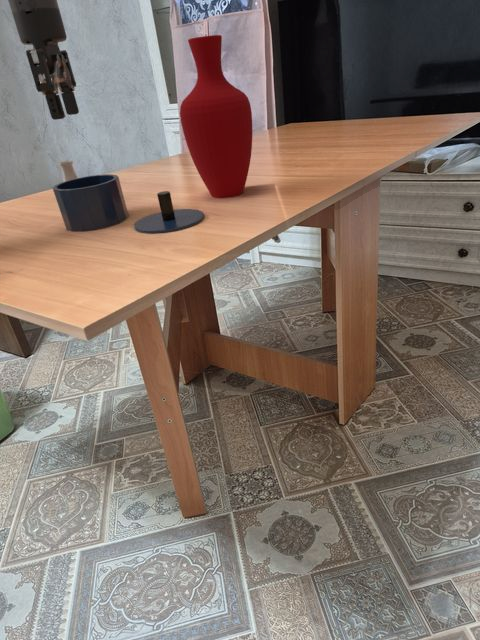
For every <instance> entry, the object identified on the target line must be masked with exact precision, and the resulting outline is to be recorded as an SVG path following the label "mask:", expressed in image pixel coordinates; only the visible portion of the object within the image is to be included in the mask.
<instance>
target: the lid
mask: <svg viewBox="0 0 480 640" xmlns="http://www.w3.org/2000/svg"><path fill="white" fill-rule="evenodd" d="M156 195H157V200H158V204H159V208H160V211H158V212H155V213H152V214H148V215H146V216H144V217H141V218H139V219H138V220H136V221H135V222H134V224H133V228H134V230H135V231H136V232H138V233H142V234H164V233H165V234H166V233H172V232H176V231H180V230H181V231H182V230H185V229H188V228H191V227H193V226H195V225H198V224H200V223H202V222H203V220H205V214H204V212H203V211H202V210H199V209H194V208H177V209H174V206H173V200H172V196H171V192H170V190H164V191H160V192H157V193H156Z"/></svg>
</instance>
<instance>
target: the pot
mask: <svg viewBox="0 0 480 640" xmlns="http://www.w3.org/2000/svg"><path fill="white" fill-rule="evenodd" d="M52 191H53V194H54V196H55V200H56V202H57V206H58V209H59V212H60V215H61V217H62V220H63V223H64V226H65V229H66V231H68V232H69V231H70V232H73V233H74V232H75V233H77V232H78V233H79V232H80V233H83V232H92V231H98V230H102V229H107V228H110V227H114V226H116V225H119V224H121V223H123V222H125V221H127V220H128V218H129V212H128V209H127V204H126V200H125V197H124V192H123V189H122V186H121V181H120V178H119V176H118V175H117V174H111V173H109V174H105V173H104V174H94V175H87V176H82V177H78V178H76V179H72V180H68V181H65V182H64V181H63V182H62V181H61V182H60V183H57V184H54V186H52Z"/></svg>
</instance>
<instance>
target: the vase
mask: <svg viewBox="0 0 480 640" xmlns="http://www.w3.org/2000/svg"><path fill="white" fill-rule="evenodd" d="M222 41H223V36H222V35H220V34H212V35H203V36H197V37H192V38H189V39H188V40H187V43H188V45H189V49H190V51H191V54H192V57H193V61H194V63H195V68H196V74H197V76H196V77H197V78H196V82H195V85H194V86H193V88H192V90H191V91H190V93H188V94H187V96H185V98H183V100H182V101H181V104H180V107H179V118H180V124H181V128H182V133H183V136H184V139H185V143H186V146H187V149H188V151H189V154H190V157H191V159H192V162H193V164H194V166H195V169H196V170H197V172H198V175H199V176H200V178H201V180H202V182H203V184H204V185H205V187H206V189H207V190H208V192H209V194H210V196H211V197H212V198H214V199H228V198H229V199H230V198H235V197H238V196H241V195H242V194H243V193H244V192H245V188H246V183H247V181H248V179H247V178H248V175H249V170H250V166H251V165H250V164H251V159H252V151H253V113H252V106H251V103H250V100H249V97H248V96H247V95H246V93H245V92H244V91H242V90H241V89H238V87H235V86H234V85H233V84H231V83H230V82H229V80H228V79H227V78H226V77H225V75H224V72H223V67H222V45H223V44H222Z"/></svg>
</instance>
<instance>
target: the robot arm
mask: <svg viewBox="0 0 480 640" xmlns="http://www.w3.org/2000/svg"><path fill="white" fill-rule="evenodd" d="M7 2H8V5H9V9H10V11H11V15H12V18H13V20H14V24H15V27H16V30H17V33H18V36H19V40H20V42H21V43H22V44H23V45H25V46H32V49H27V50H26V49H25V54H26V57H27V60H28V65H29V68H30V72H31V74H32V78H33V82H34V86H35V89H36V90H37V92H38V93H41V94H42V96H44V97H45V101H46V104H47V107H48V111H49V114H50V117H51V120H54V121H55V120H63V119H65V118H66V114H67V115H68V116H71V115H72V116H73V115H78V114H79V113H80V110H79V107H78V102H77V99H76V95H75V93H74V92H75V88H77V82H76V79H75V75H74V71H73V69H72V65H71V61H70V58H69V53H68V52H67V50H66V49H64V50H60V47H59V43H63V42H66V41H67V38H68V37H67V33H66V28H65V25H64V21H63V18H62V14H61V11H60V7H59V2H58V0H7ZM59 92H60V94H59ZM60 95H61V97H60ZM61 99H62V100H61ZM62 102H63V104H62ZM63 106H64V108H63ZM65 112H66V114H65Z"/></svg>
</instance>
